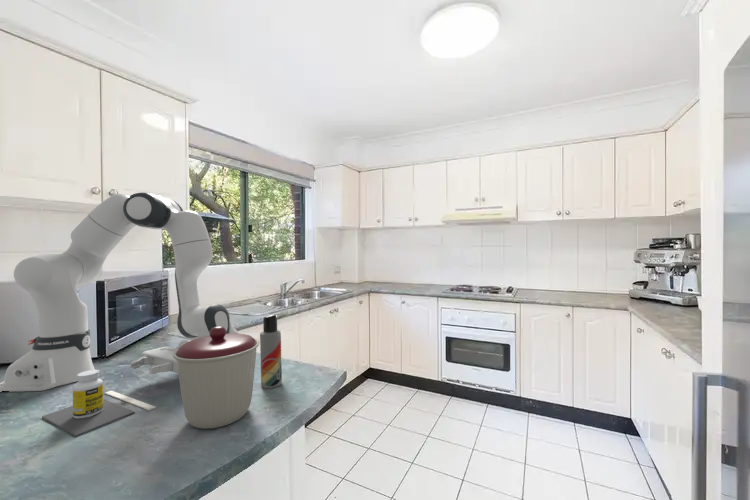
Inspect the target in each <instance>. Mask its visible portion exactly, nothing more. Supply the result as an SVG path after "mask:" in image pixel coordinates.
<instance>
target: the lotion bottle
mask: <svg viewBox="0 0 750 500" xmlns="http://www.w3.org/2000/svg"><path fill="white" fill-rule="evenodd" d="M262 322H263V324H262V327H263V331H261V332H260V334H259V350H260V353H259V355H260V356H259V357H260V384H261V387H262V388H263V389H273V388H277V387H279V386H281V384H283V383H282V382H283V381H282V379H283V377H282V376H283V375H282V373H283V372H282V371H283V370H282V332H281V330H279V329H278V316H277V315H276V314H271V315H267V316H264V317H263V318H262Z"/></svg>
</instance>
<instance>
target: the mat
mask: <svg viewBox="0 0 750 500" xmlns="http://www.w3.org/2000/svg"><path fill="white" fill-rule="evenodd" d="M135 413H136V412H135V410H133V409H130V408H128V407H125V406H122V405H120V404H117V403H114V402H112V401H109V400H108V399H105V398H103V410H102V411H101V412H100V413H98V414H96V415H94V416H91V417H87V418H81V419H77V418H74V417H73V405H72V406H67V407H65V408H62V409H59V410H56V411H53V412H49V413H46V414H44V415H42V416H41V419H43V420H45V421H47V422H49V423H51V424H52V425H53V426H56V428H57V427H58V428H59V429H61V430H63V431H65V432H66V433H68V434H70V435H72V436H74V437H75V438H76V437H80V436H82V435H84V434H87V433H89V432H91V431H95V430H96V429H98V428H101V427H102V428H103V426H106V425H107V426H108V425H110V424H111V423H114V422H116V421H119V420H121V419H124V418H126V417H128V416H131V415H135Z"/></svg>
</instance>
